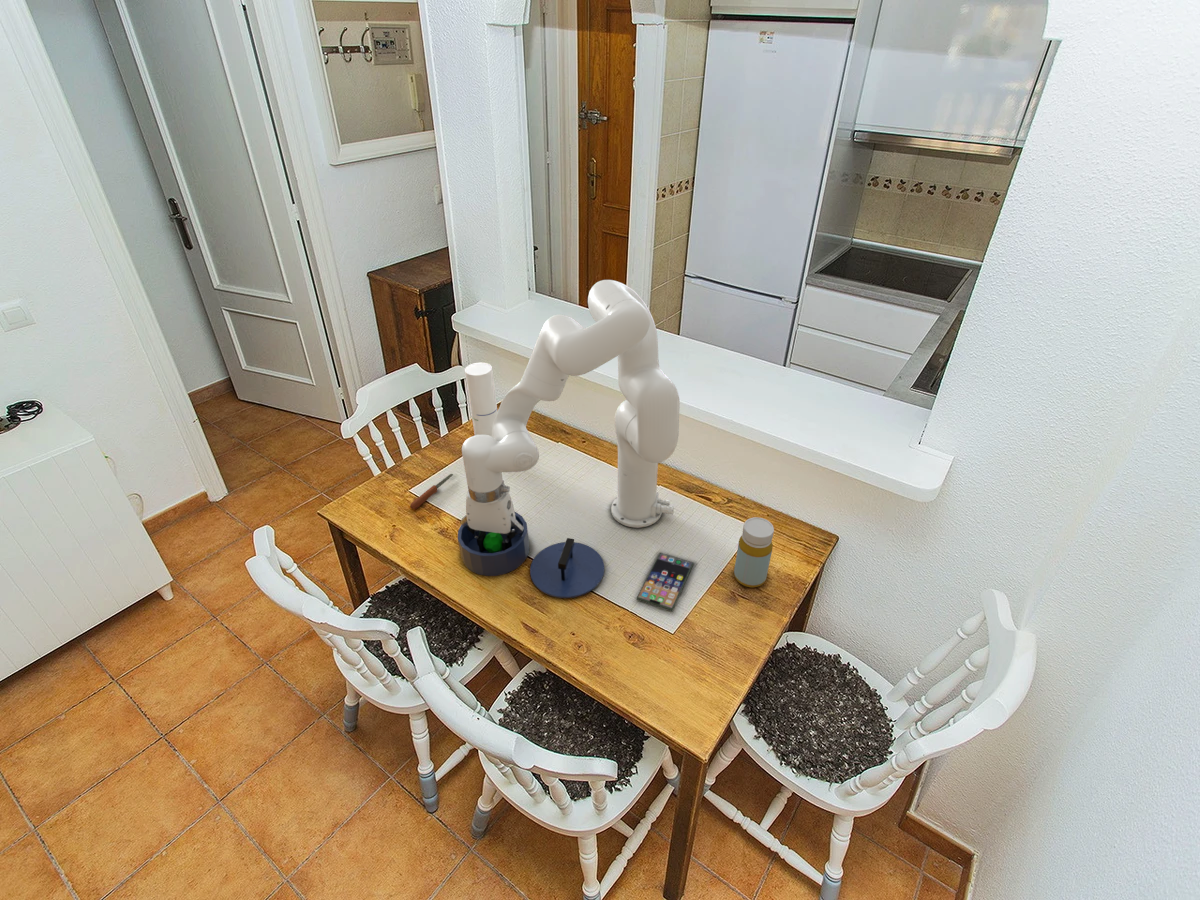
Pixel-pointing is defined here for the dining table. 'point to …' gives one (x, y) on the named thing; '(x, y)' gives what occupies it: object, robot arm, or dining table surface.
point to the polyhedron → (493, 542)
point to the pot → (497, 561)
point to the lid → (567, 569)
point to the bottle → (754, 552)
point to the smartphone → (665, 581)
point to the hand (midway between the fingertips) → (495, 548)
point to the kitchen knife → (428, 494)
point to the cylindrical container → (481, 397)
